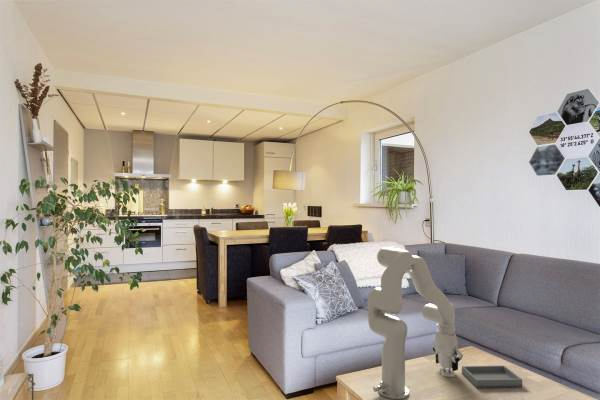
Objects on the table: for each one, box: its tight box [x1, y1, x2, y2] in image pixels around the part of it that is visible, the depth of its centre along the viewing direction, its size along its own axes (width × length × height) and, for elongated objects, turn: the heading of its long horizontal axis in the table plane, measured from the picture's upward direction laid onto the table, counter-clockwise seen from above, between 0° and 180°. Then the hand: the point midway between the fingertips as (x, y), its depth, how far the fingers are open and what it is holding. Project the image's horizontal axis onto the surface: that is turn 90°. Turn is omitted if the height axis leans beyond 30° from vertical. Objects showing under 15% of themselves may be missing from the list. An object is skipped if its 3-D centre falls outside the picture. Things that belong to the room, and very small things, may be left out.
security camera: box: [438, 352, 456, 378], centre depth 179 cm, size 6×7×10 cm
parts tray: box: [461, 365, 523, 389], centre depth 172 cm, size 20×14×4 cm
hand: (446, 366), depth 180 cm, fingers closed on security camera, 8 cm apart
